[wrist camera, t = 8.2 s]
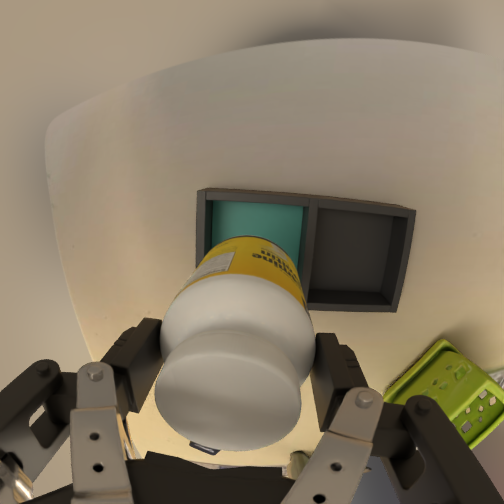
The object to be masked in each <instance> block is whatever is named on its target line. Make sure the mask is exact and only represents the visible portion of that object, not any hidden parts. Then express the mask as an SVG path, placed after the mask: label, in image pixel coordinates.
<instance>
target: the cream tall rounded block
mask: <svg viewBox="0 0 504 504" xmlns="http://www.w3.org/2000/svg"><path fill="white" fill-rule="evenodd" d="M290 456H291V459H290V461H291V462H290V463H289V465H288V466H287V473H288V476H289V478H292V479H295V480H297V478H298V477H299V475H300V474H301V472H302V470H303V469H304V467H305V466H306V464H307V462H308V461H309V459H310V458H309V457H308V456H307V455H305V454H304V453H303V452H301V451H297V452H294V453H292V454H291V455H290Z"/></svg>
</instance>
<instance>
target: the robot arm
mask: <svg viewBox="0 0 504 504" xmlns="http://www.w3.org/2000/svg"><path fill="white" fill-rule="evenodd" d="M161 325H162V320H159V319H152V318H143V320H142V321H141V322H140V324H139V325H138V326H137V327H131V328H129V329H128V330H126V331H124V332H123V333H122V334H121V336H120V337H119V338H118V340H117V341H116V342H115V343H114V345H113V346H112V347H111V348H110V349H109V351H108V352H107V353H106V354H105V356H104V357H103V358H102V359H101V361H100V362H91V363H87V364H85V365H84V366H82V367H81V368H80V369H79V371H78V373H71V372H61V370H60V367H59V365H58V364H57V363H56V362H55V361H53V360H49V359H44V360H39V361H37V362H35V363H33V364H32V365H31V366H30V367H28V368H27V369H26V370H25V371H24V372H23V373H21V374H20V375H19V376H18V377H17V378H16V379H14V380H13V381H12V382H11V383H10V384H9V385H7V387H5V388H4V389H3V390H2V391H1V392H0V504H350V503H351V500H352V498H353V496H354V494H355V492H356V489H357V487H358V485H359V482H360V480H361V477H362V475H363V472H364V470H365V467H366V464H367V462H368V459H369V456H377V457H380V458H381V461H382V463H383V465H384V467H385V470H386V472H387V474H388V477H389V479H390V481H391V483H392V485H393V488H394V490H395V493H396V495H397V498H398V500H399V502H400V504H504V501H503V499H502V497H501V496H500V494H499V492H498V491H497V489H496V488H495V486H494V485H493V483H492V481H491V480H490V478H489V477H488V475H487V473H486V472H485V470H484V469H483V467H482V466H481V464H480V463H479V461H478V460H477V458H476V457H475V455H474V454H473V453H472V451H471V449H470V448H469V446H468V445H467V444H466V442H465V441H464V439H463V438H462V436H461V435H460V434H459V432H458V431H457V429H456V428H455V426H454V425H453V424H452V422H451V421H450V419H449V418H448V417H447V415H446V414H445V413H444V411H443V410H442V408H441V407H440V406H439V404H438V403H437V402H436V401H435V400H434V399H432V398H430V397H428V396H425V395H414V396H412V397H410V398H408V400H407V401H406V403H405V405H401V404H394V403H388V402H384V400H383V397H382V396H381V394H380V393H378V392H377V391H376V390H374V389H371V388H369V386H368V384H367V382H366V379H365V377H364V374H363V372H362V370H361V367H360V365H359V363H358V361H357V358H356V356H355V353H354V351H353V350H351V349H350V348H349V347H348V346H347V345H339V342H338V340H337V337H336V335H335V333H317V334H316V338H315V341H316V353H315V359H314V363H313V366H312V369H311V371H310V378H311V383H312V389H313V394H314V400H315V405H316V411H317V417H318V423H319V428H320V432H325V433H324V434H323V436H322V438H321V440H320V442H319V443H318V445H317V447H316V449H315V450H314V452H313V454H312V456H311V457H310V459H309V461H308V462H307V464H306V466H305V467H304V469H303V470H302V472H301V474H300V475H299V477H298V478H297V480H295V479H292V478H288V477H284V476H282V467H254V466H245V467H237V468H227V469H208V468H205V467H203V466H200V465H197V464H194V463H192V462H189V461H187V460H184V459H182V458H179V457H174V456H169V455H164V454H160V453H155V452H151V451H147V454H146V456H145V459H136V457H135V453H134V449H133V445H132V440H131V436H130V431H129V426H128V421H127V418H126V416H127V414H128V412H129V411H131V412H135V413H139V412H140V410H141V408H142V406H143V404H144V401H145V399H146V397H147V395H148V393H149V391H150V389H151V387H152V385H153V383H154V381H155V379H156V377H157V375H158V373H159V371H160V369H161V367H162V365H163V363H164V361H163V358H162V354H161V349H160V330H161ZM41 405H43V407H44V409H45V411H44V413H43V414H42V415H41V416H40V417H39V418H38V419H37V420H36V421H35V422H34V423H33V424H32V425H31V427H29V420H30V417H31V416H32V415H33V413H35V412H36V411H37V409H38V408H39V407H40V406H41ZM69 435H70V448H71V466H72V479H73V483H72V484H69V485H67V486H64V487H62V488H60V489H57V490H55V491H52V492H50V493H47V494H44V495H42V496H39V497H36V498H34V496H33V494H32V493H33V484H32V483H33V482H34V481H35V479H36V478H37V477H38V475H39V474H40V473H41V472H42V470H43V469H44V468H45V466H46V465H47V463H48V462H49V461H50V460H51V458H52V457H53V456H54V455H55V453H56V452H57V451H58V449H59V448H60V447H61V445H62V444H63V443H64V442H65V440H66V439H67V438H68V437H69Z"/></svg>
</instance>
